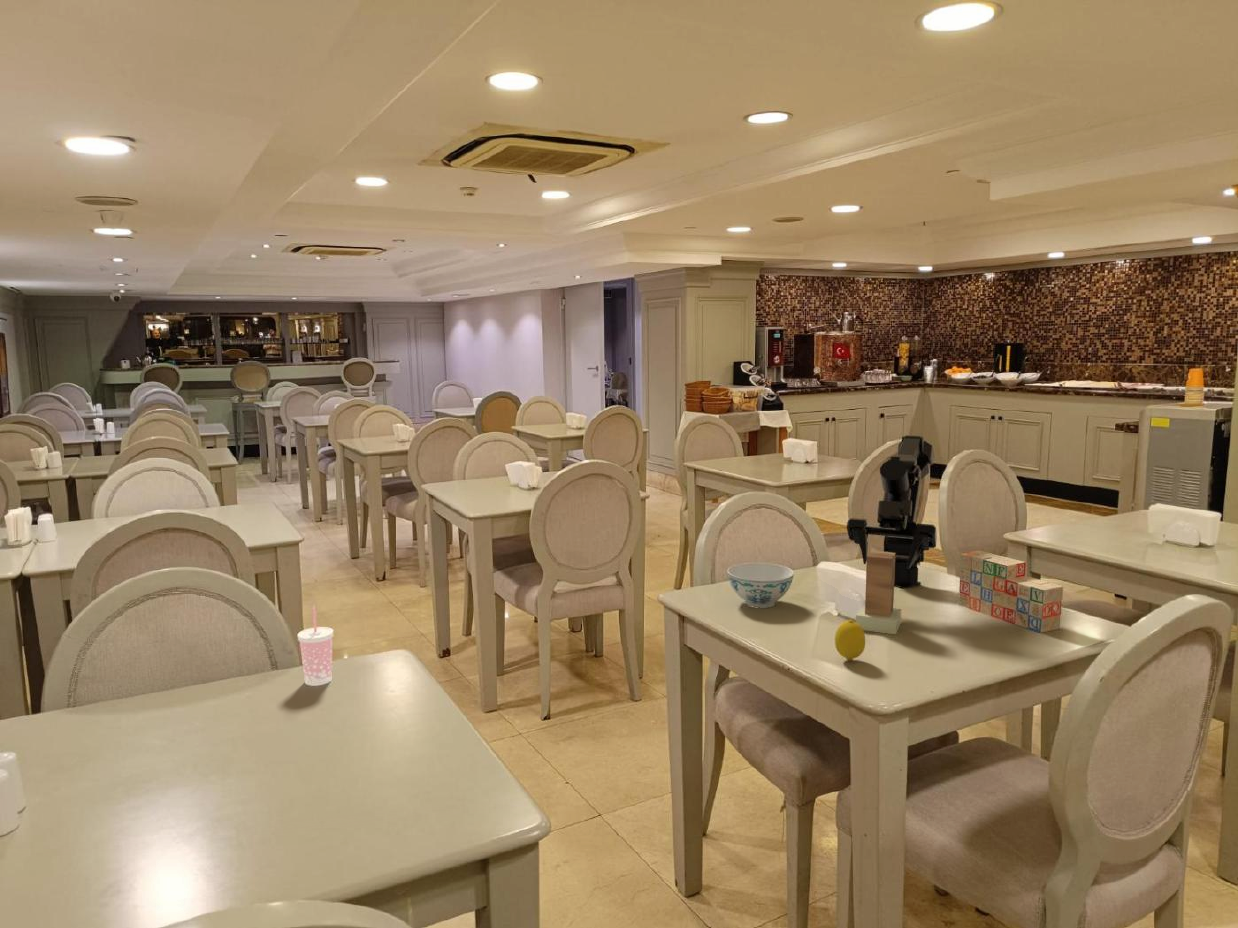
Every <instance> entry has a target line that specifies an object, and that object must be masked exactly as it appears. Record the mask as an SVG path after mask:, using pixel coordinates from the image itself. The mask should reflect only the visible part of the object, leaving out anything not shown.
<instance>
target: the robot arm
mask: <svg viewBox="0 0 1238 928" xmlns="http://www.w3.org/2000/svg"><path fill="white" fill-rule="evenodd" d="M934 454H935V453H934V447H933V445H932V444H930V443H929V442H927V441H926V440H925V437H924V436H921V435H907V434H906V435H905V436H903V435H902V437H901V441H900V442H899V443H898V446H897V454H896V455H892V456H890V457H889V458H888V459H887V461H885V462H884V463H882V464H881V465H880V467H879V475H880V480H881V481H880V482H881V487H882V490H883V492H884V494H883V499H882V500H879V501H878V506H877V519H876V521H877V523H878V525H869V524H868V522H867V519H866V518H856V517H855V518H854V517H850V518H849V519H848V520H847V523H846V531H847V536H848V539H849V540H851V541H853V542H854V543H855V544H856V545H859V548H860V550H861V556H862V562H863V565H867V555H868V551H869V550H868V549H869V547H868V546H869V541H868V538H869V537H868V536H869V535H871V536H881V537H882V536H883V537H884V538H883V552H891V553H895V576H894V587H895V586H896V587H898V588H901V589H906V588H911V587H915V586H919V585H922V582H921V581H919V568H918V564H920V563H923V562H924V561H925V551H929V550H930V549H934V548H935V549H936V547H937V528H936V526H935V524H931V523H930V524H928V523H917V522H916V519H917V511H918V504H919V497H920V491H921V484H922V479H924V478H925V477H926V476H927V475H929V473H930V468H931V465H934V464H933V463H934Z"/></svg>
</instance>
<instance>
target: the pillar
mask: <svg viewBox="0 0 1238 928" xmlns="http://www.w3.org/2000/svg"><path fill="white" fill-rule="evenodd" d="M865 569H866V570H865V571H866V573H865V597H864V601H865V602H864V605H865V614H868V615H876V616H883V617H890V616H891V614H892V612H893V608H894V603H895V602H894V600H895V599H894V596H895V586H894V576H895V553H891V552H884V551H878V550H877V551H876V550H870V551H869V553H867V561H866V568H865Z"/></svg>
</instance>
